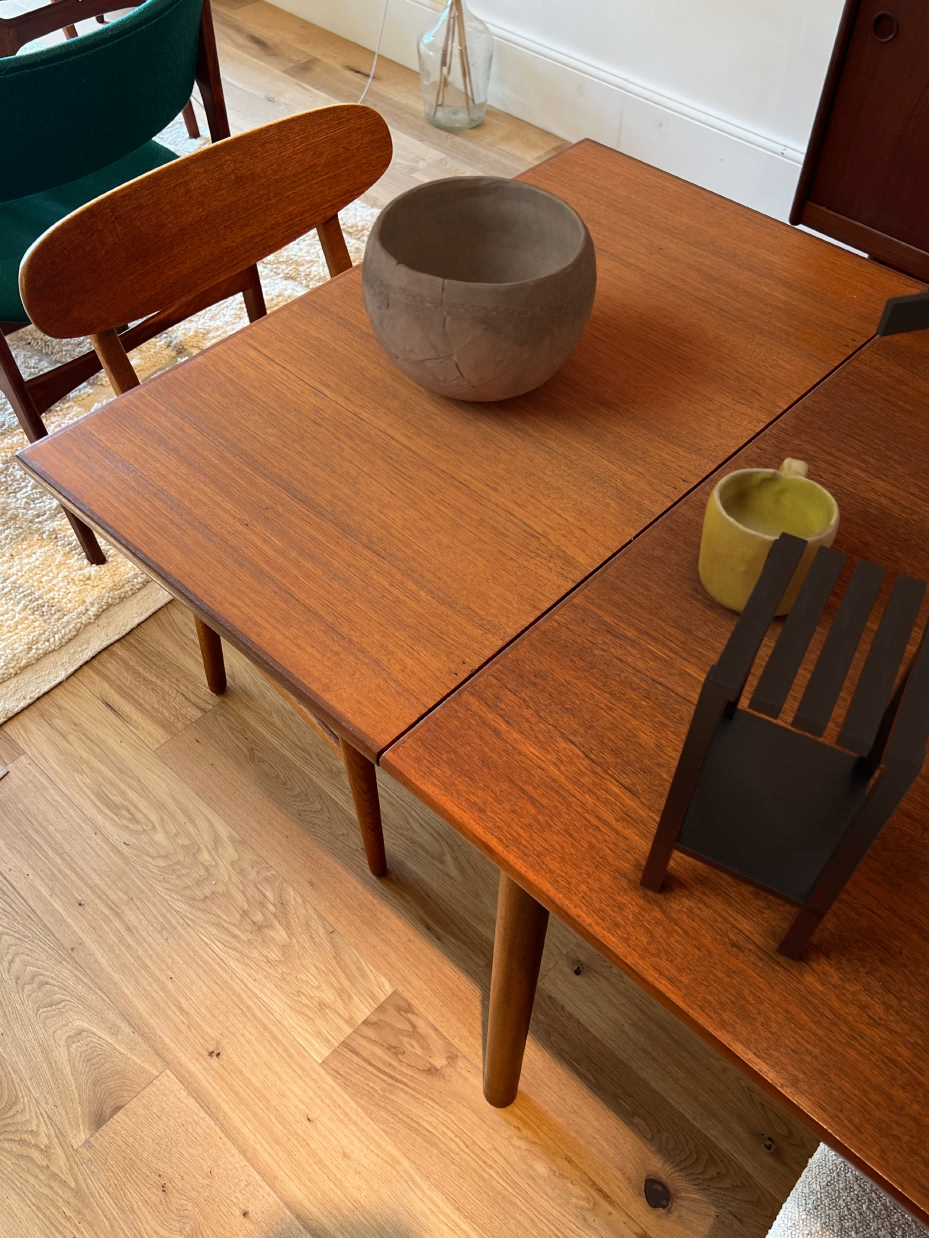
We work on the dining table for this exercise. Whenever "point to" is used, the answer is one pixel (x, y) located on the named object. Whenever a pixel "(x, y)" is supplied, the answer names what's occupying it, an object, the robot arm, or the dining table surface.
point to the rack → (800, 742)
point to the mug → (762, 529)
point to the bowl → (478, 285)
